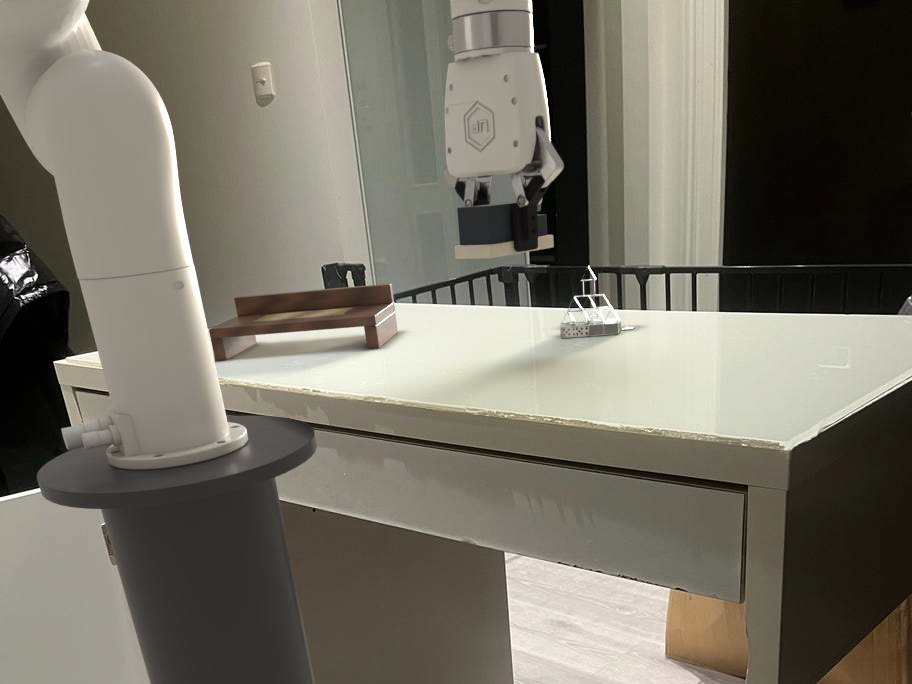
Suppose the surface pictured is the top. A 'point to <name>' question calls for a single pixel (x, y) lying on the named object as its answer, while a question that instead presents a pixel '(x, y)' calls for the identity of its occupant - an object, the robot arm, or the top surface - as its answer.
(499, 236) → the stepped dark grey block
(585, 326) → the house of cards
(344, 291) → the wooden bench
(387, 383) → the top surface
